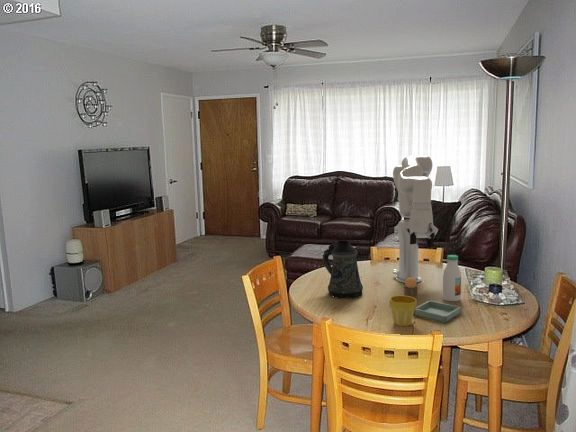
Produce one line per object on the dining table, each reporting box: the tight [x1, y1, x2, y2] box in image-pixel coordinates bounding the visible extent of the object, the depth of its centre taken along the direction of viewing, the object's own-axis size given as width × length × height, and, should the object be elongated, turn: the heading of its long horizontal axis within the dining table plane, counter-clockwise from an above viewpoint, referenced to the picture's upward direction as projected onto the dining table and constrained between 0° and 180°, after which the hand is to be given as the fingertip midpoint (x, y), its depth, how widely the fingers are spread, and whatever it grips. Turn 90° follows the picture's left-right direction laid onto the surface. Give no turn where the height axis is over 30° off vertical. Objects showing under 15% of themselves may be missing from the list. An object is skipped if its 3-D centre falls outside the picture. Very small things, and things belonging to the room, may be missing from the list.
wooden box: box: [403, 285, 418, 301], centre depth 213 cm, size 4×4×7 cm
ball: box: [404, 277, 418, 289], centre depth 212 cm, size 5×5×5 cm
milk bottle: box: [442, 254, 462, 302], centre depth 214 cm, size 8×8×20 cm
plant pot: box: [388, 294, 418, 327], centre depth 188 cm, size 10×10×10 cm
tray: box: [413, 300, 462, 324], centre depth 197 cm, size 14×14×3 cm
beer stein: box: [322, 240, 364, 299], centre depth 226 cm, size 16×19×25 cm
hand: (421, 245), depth 209 cm, fingers open, 9 cm apart
